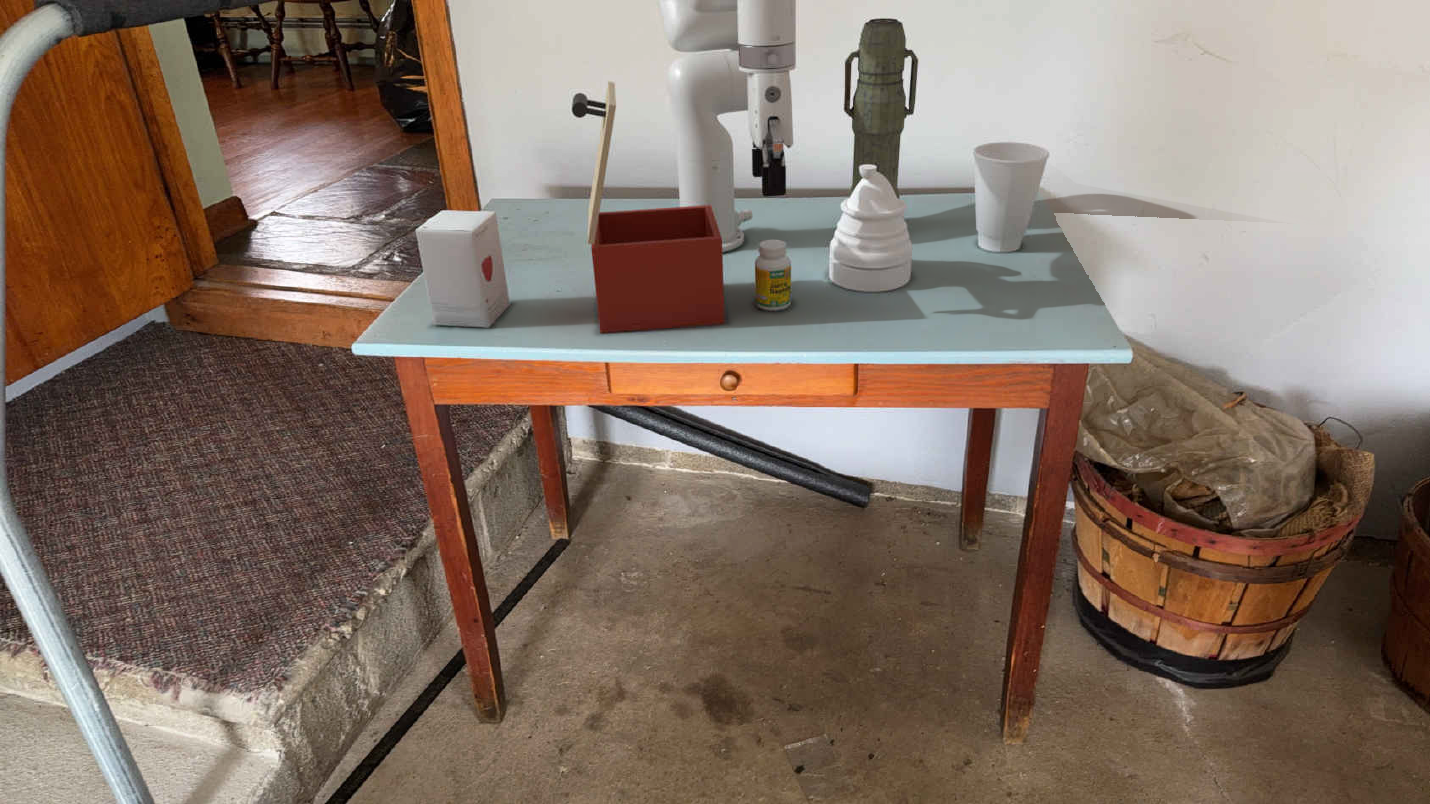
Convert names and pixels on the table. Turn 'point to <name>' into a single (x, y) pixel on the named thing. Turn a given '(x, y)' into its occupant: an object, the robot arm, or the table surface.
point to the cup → (1006, 192)
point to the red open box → (658, 269)
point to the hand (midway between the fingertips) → (768, 185)
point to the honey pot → (871, 238)
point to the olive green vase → (879, 98)
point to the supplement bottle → (773, 276)
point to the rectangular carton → (463, 268)
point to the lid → (603, 148)
